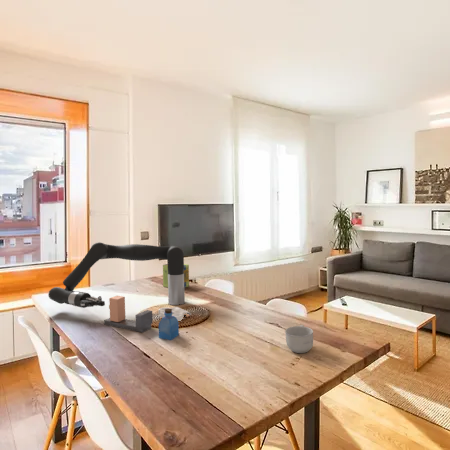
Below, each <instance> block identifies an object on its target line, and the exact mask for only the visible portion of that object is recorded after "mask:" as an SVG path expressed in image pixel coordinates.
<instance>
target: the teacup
mask: <svg viewBox="0 0 450 450" xmlns="http://www.w3.org/2000/svg"><path fill="white" fill-rule="evenodd" d="M284 331H285V332H284V333H285V343H286V347H288V349H289V350H291V351H292V352H293V353H296V354H297V353H298V354H306V353H307V352H309V351H310V350H311V349H312V348H313V346H314V330H313V329H312V328H310V327H308V326H305V325H304V324H300V325H295V326H288V328H286V329H285V330H284Z"/></svg>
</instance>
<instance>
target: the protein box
mask: <svg viewBox="0 0 450 450" xmlns="http://www.w3.org/2000/svg"><path fill="white" fill-rule="evenodd" d="M189 266H190V264H188V263H187V264H186V263H184V289H186V288H189V287H190V268H189ZM162 286H163V287H164V288H168V263H165V264H163V265H162Z"/></svg>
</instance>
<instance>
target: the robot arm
mask: <svg viewBox="0 0 450 450" xmlns="http://www.w3.org/2000/svg"><path fill="white" fill-rule="evenodd" d="M184 255H185V254H184V250H183V248H182V247H180V246H179V245H169V246H168V245H167V246H161V245H160V246H157V245H150V244H137V243H136V244H132V243H131V244H123V245H113V244H107V243H106V244H105V243H104V242H100V241H99V242H98V241H97V242H95V243H93V244H92V245H91V247H90V248H89V250H88V251H87V253H86V254H85V255H84V257H83V259H82V260H81V261H80V262H79V263H78V265H76V266H75V268H74V269H73V270H72V271H71V272H70V273H69V274H68V275H67V276H66V277H65V278H64V279H63V281H62V283H63V284H62V285H64V286H65V288H63V287H59V286H55V287H52V288H51V289H50V290H49V291H48V298H49V299H50V300H51V301H54V302H55V303H58V304H60V305H61V304H66V305H70V306H73V307H76V308H77V307H78V308H81V309H82V308H84V309H85V308H90V307H92V308H93V307H97V306H100V307H104V306H106V303H105V301H104V300H103V297H102V296H101V295H100V296H98V297H95V296H92V295H91V294H90V293H89V292H83V291H75V289H76V287H77V286H79V284H80V283H81V282H82V280H83V279H84V278H85V276H87V274H88V272H89V270H90V269H91V268H92V267H93V266H94V265H95V264H96V263H97V262H99V260H106V259H121V260H126V261H127V260H128V261H136V262H137V261H138V262H139V261H141V262H143V261H144V262H145V261H152V260H167V263H166V264H168V287H167V289H168V290H167V293H168V302H167V303H168V304H169V305H170V306H171V305H172V306H179V304H180V305H182V304H183V305H184V303H186V299H185V298H186V297H185V295H186V294H185V289H186V288H184V264H185V259H184V257H185V256H184Z"/></svg>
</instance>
